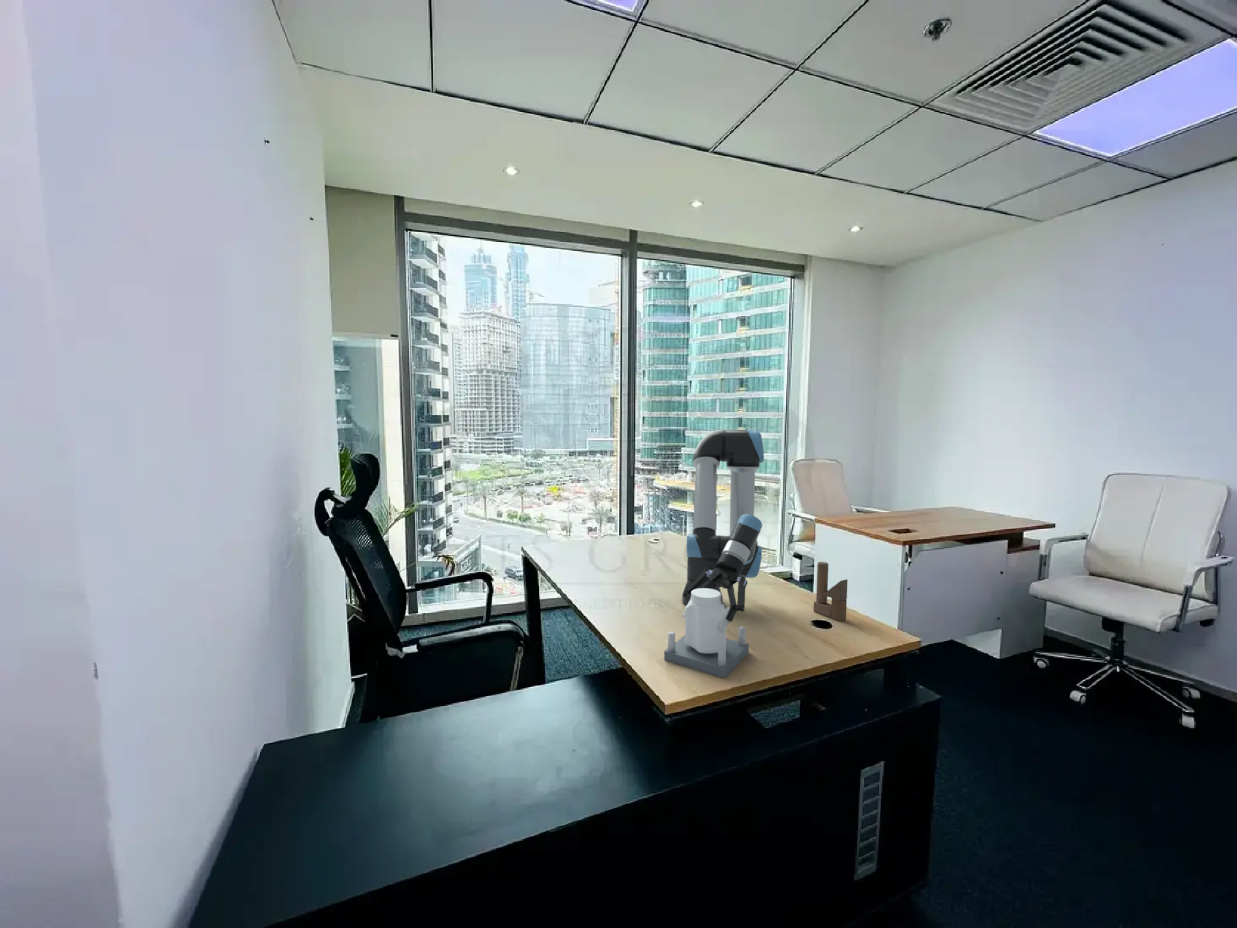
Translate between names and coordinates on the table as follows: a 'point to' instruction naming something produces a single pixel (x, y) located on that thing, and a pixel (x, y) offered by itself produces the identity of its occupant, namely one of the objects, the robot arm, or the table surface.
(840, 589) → the wooden block
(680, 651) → the peg board
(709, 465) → the robot arm
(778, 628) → the table surface
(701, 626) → the jar
